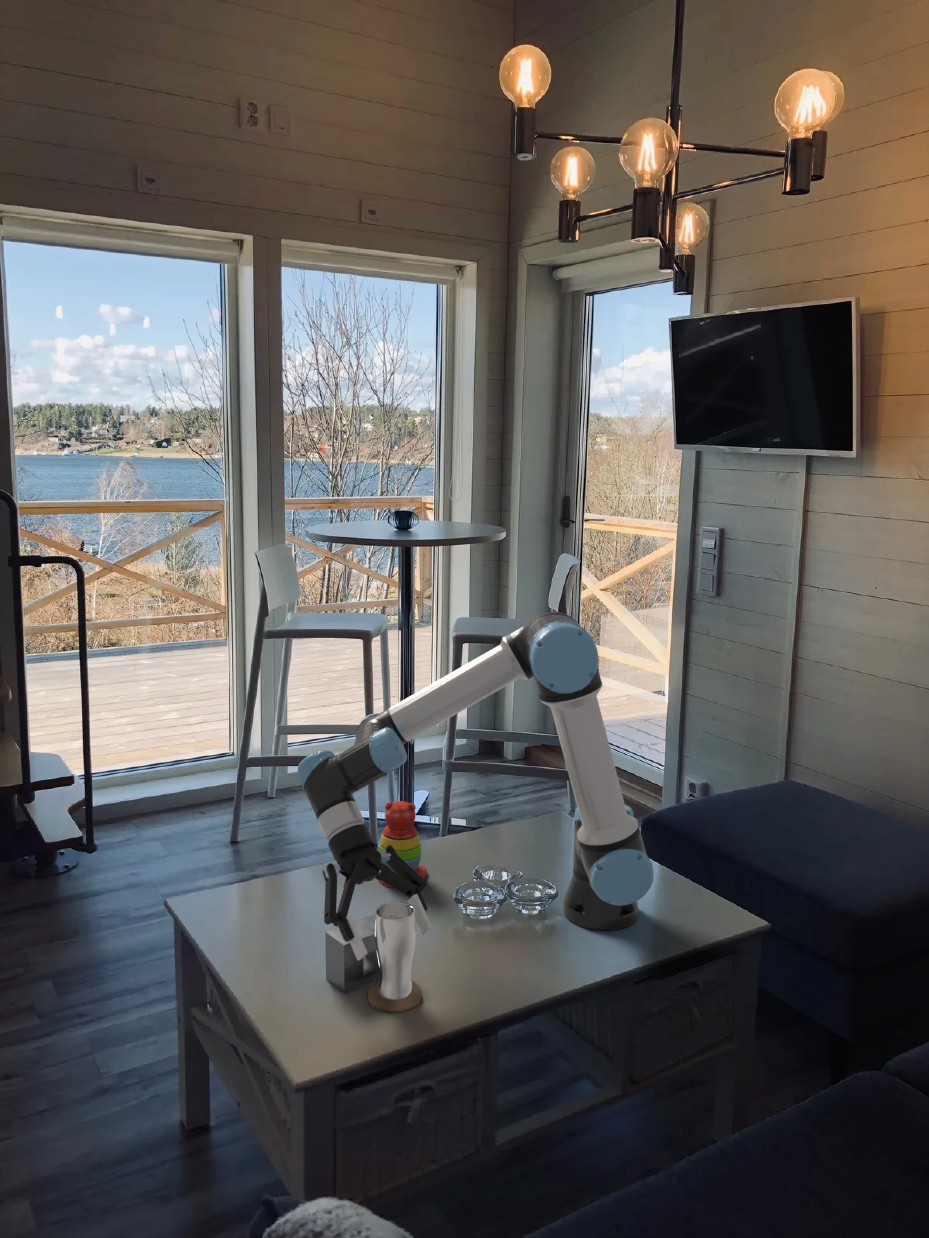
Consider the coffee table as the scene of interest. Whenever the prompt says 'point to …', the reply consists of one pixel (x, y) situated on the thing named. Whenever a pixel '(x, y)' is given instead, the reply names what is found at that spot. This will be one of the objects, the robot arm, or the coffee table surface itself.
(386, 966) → the beer glass
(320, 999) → the coffee table surface
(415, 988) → the walnut coaster
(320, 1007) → the coffee table surface
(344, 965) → the grey block with hole
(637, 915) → the robot arm
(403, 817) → the stacking bear
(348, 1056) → the coffee table surface
